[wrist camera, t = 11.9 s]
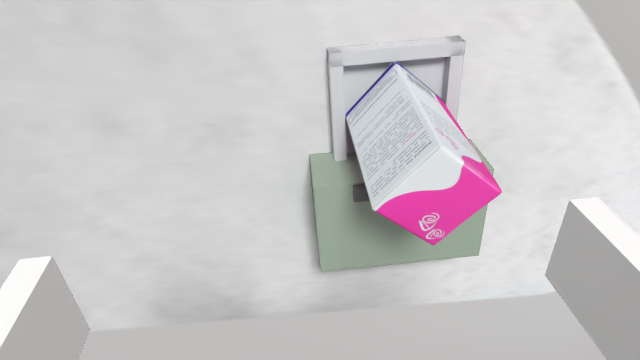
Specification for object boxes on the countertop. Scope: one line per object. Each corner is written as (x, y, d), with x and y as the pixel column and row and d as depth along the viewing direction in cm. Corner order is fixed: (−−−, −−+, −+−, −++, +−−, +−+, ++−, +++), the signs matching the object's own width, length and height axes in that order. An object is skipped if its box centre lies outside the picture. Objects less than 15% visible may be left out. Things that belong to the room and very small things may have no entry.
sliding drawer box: (316, 235, 43) (321, 277, 38) (300, 50, 33) (304, 75, 28) (459, 220, 43) (481, 260, 39) (484, 33, 34) (518, 56, 29)
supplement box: (341, 116, 35) (369, 210, 26) (394, 58, 33) (445, 139, 23) (393, 152, 38) (434, 250, 28) (445, 101, 35) (509, 189, 26)
